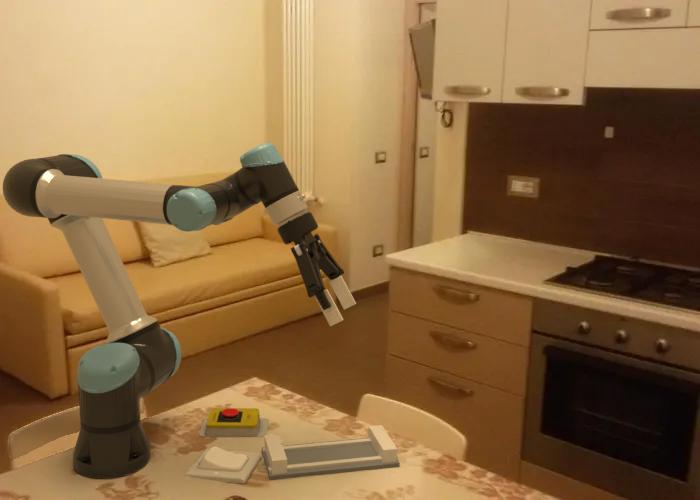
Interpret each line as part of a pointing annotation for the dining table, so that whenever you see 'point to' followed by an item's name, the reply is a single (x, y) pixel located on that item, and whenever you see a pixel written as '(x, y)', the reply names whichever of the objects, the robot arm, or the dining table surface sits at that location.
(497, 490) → the dining table surface
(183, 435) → the dining table surface
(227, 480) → the light switch
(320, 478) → the dining table surface
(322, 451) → the rail board
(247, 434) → the emergency button
